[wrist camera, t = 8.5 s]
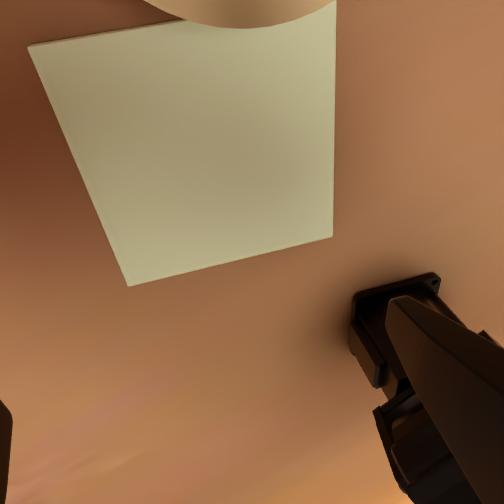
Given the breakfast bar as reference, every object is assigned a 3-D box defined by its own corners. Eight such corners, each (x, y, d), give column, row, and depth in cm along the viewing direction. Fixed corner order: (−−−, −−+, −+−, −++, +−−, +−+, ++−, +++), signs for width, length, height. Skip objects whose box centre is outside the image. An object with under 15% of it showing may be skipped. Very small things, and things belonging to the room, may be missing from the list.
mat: (330, -6, 16) (336, -5, 16) (328, 231, 24) (332, 236, 23) (30, 44, 15) (26, 47, 14) (128, 279, 22) (128, 286, 22)
